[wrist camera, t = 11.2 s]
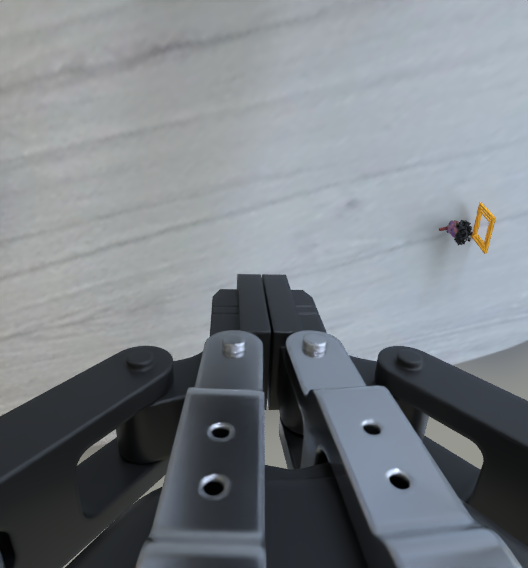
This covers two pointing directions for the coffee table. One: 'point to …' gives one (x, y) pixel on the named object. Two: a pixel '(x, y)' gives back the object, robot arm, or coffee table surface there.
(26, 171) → the coffee table surface
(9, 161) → the coffee table surface
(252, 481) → the robot arm
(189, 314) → the coffee table surface
